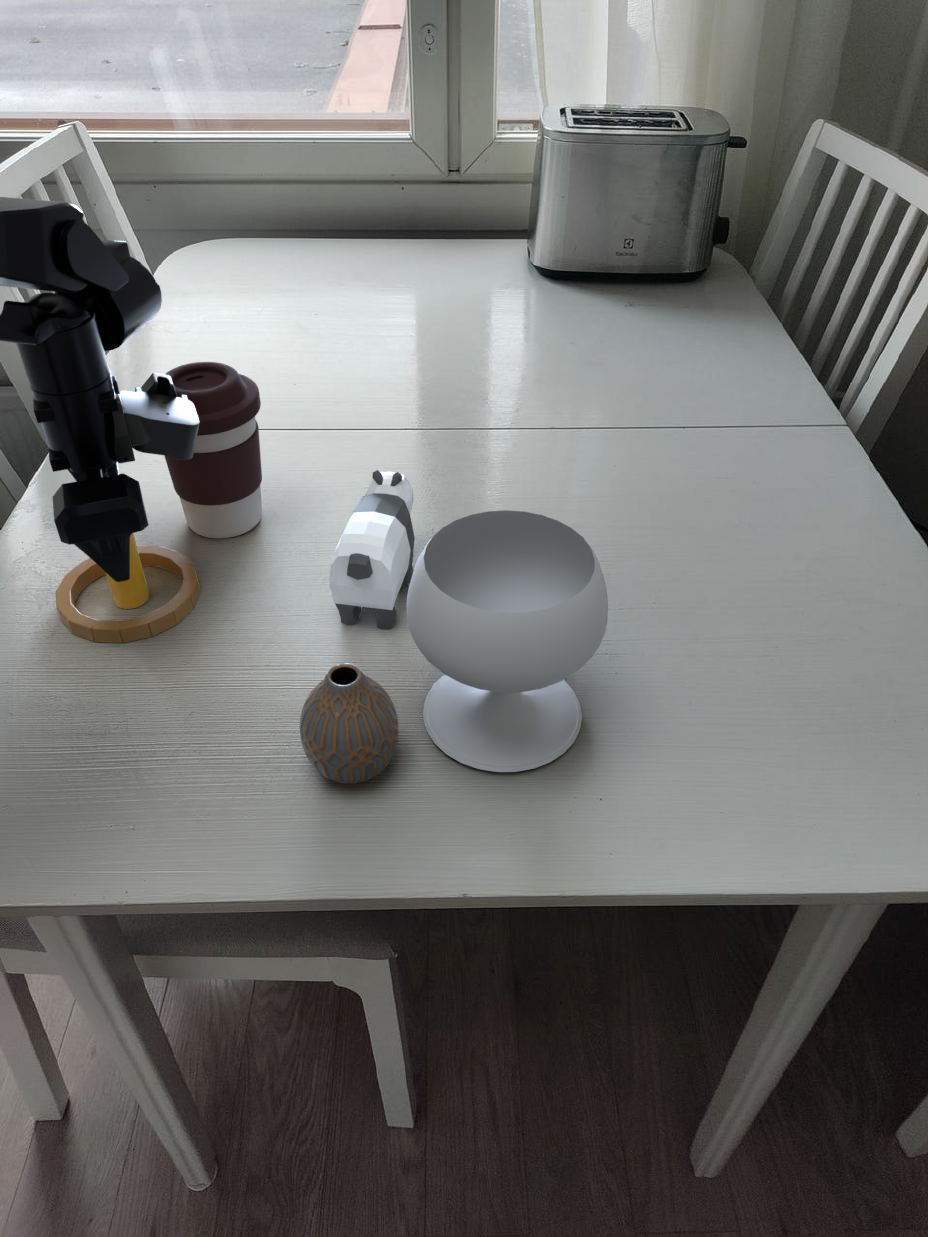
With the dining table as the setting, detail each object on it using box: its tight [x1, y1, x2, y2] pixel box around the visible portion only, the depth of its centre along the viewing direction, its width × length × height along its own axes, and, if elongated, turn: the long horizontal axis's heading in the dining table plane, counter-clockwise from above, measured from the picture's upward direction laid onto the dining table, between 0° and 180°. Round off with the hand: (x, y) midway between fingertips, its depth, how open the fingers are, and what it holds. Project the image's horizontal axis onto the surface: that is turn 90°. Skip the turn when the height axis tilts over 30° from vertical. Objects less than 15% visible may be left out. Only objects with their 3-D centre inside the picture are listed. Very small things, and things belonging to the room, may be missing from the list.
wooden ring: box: [55, 545, 201, 644], centre depth 84 cm, size 12×12×2 cm
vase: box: [299, 662, 399, 785], centre depth 67 cm, size 7×7×9 cm
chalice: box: [406, 509, 609, 773], centre depth 69 cm, size 14×14×15 cm
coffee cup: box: [163, 361, 263, 539], centre depth 89 cm, size 10×10×15 cm
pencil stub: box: [105, 533, 150, 610], centre depth 81 cm, size 3×3×9 cm
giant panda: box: [329, 469, 416, 630], centre depth 83 cm, size 15×6×10 cm, turn 170°
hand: (118, 548), depth 81 cm, fingers open, 9 cm apart
